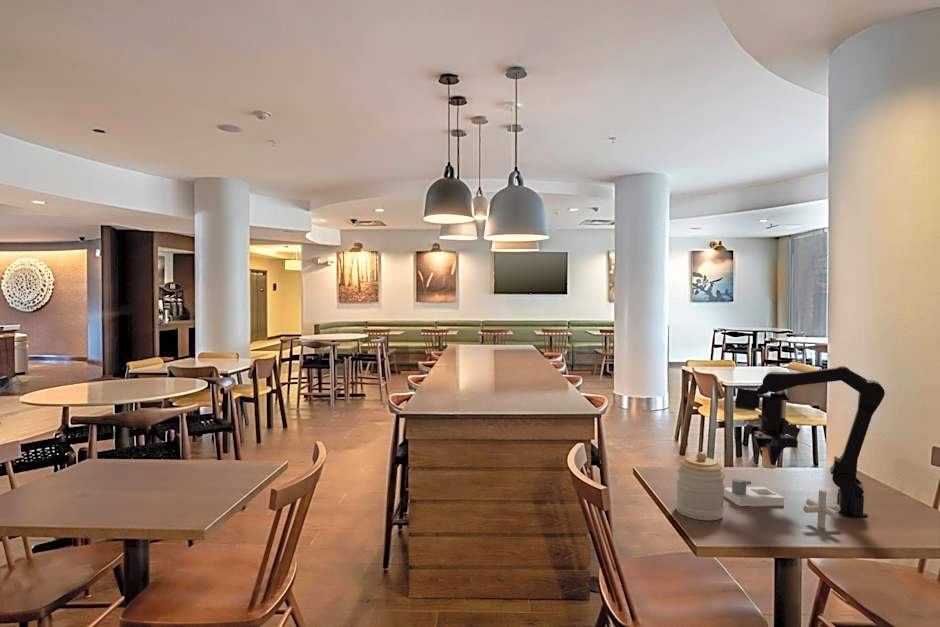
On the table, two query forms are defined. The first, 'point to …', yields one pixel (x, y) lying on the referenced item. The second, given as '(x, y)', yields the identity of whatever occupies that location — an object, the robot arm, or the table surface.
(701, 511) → the jar
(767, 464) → the orange rounded tapered piece
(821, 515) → the pipe connector
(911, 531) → the table surface
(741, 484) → the housing
